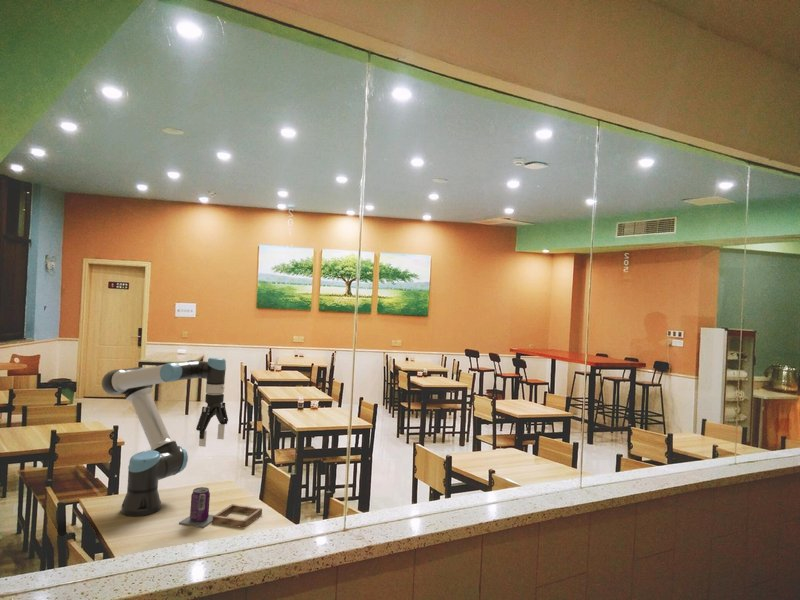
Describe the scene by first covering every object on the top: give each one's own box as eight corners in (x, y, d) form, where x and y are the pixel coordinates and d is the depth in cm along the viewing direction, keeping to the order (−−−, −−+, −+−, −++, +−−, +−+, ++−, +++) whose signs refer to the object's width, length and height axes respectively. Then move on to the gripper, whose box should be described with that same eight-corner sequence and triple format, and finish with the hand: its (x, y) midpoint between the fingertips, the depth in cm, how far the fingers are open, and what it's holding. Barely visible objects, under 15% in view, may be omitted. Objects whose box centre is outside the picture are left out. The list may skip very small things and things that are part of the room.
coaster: (178, 523, 205) (179, 522, 205) (195, 513, 216) (195, 512, 216) (203, 527, 202) (203, 526, 202) (219, 517, 213) (219, 516, 213)
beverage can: (211, 517, 212) (213, 488, 212) (201, 523, 205) (203, 493, 205) (196, 514, 213) (198, 485, 213) (186, 521, 206) (188, 491, 206)
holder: (212, 522, 208) (212, 516, 208) (231, 509, 222) (232, 504, 222) (244, 527, 205) (244, 521, 205) (261, 514, 219) (262, 508, 219)
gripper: (205, 398, 209) (202, 450, 209) (237, 390, 234) (234, 437, 233) (189, 396, 211) (185, 448, 211) (223, 389, 235) (220, 435, 235)
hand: (211, 442), depth 222 cm, fingers open, 13 cm apart
